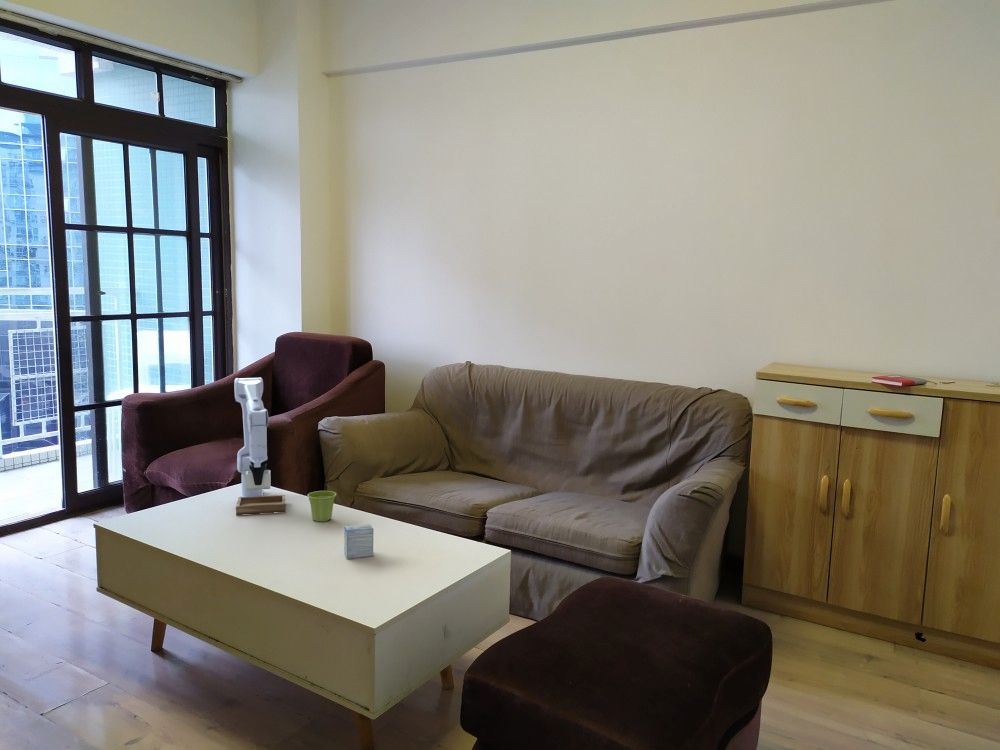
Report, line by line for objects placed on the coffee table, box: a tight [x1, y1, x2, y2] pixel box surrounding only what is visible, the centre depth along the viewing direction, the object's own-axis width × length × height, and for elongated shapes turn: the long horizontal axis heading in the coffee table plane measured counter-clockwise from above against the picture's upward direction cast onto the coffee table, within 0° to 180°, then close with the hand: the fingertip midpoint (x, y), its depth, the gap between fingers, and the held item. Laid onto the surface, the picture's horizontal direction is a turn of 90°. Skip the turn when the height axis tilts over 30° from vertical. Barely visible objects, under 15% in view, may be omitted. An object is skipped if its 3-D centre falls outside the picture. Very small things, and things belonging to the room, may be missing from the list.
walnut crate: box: [235, 494, 286, 516], centre depth 258 cm, size 12×16×3 cm
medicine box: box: [343, 523, 374, 560], centre depth 215 cm, size 8×4×9 cm, turn 111°
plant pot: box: [307, 490, 337, 522], centre depth 248 cm, size 9×9×9 cm
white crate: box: [246, 469, 272, 490], centre depth 257 cm, size 5×8×6 cm, turn 105°
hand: (258, 482), depth 257 cm, fingers closed on white crate, 5 cm apart
